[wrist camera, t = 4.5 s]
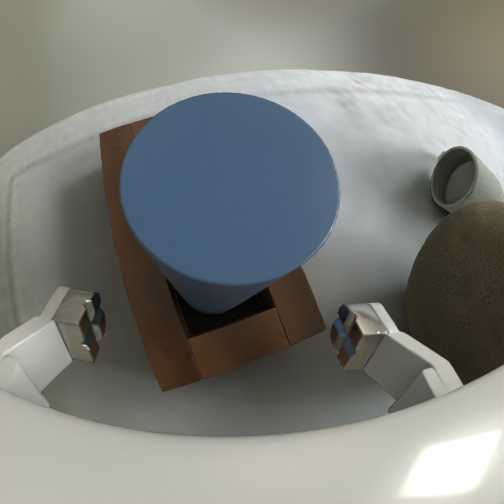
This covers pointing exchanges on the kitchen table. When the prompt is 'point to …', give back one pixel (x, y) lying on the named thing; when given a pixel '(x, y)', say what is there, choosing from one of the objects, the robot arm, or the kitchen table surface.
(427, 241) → the cantaloupe
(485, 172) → the ceramic mug
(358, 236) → the kitchen table surface
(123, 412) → the kitchen table surface
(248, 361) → the peg block
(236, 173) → the peg
